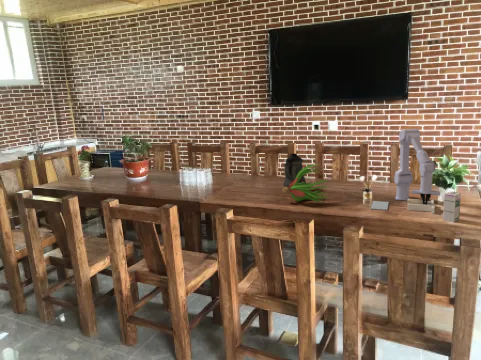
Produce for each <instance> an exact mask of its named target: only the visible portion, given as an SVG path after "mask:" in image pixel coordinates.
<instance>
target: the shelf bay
mask: <svg viewBox="0 0 481 360" xmlns="http://www.w3.org/2000/svg"><path fill="white" fill-rule="evenodd" d="M434 201H435V200H434V199H431V200H429V201H428V203H427V205H423V201H422V200H421V204H408V206H407V205H406V207H407V208H406V210H407V211H414V212H415V211H416V212H428V213H429V212H430V213H431V214H432V215H435V211H436V210H435V209H436V206H435V202H434Z"/></svg>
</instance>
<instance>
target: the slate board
mask: <svg viewBox="0 0 481 360" xmlns="http://www.w3.org/2000/svg"><path fill="white" fill-rule="evenodd" d="M389 203H390V202H389V201H380V200H373V201H372V202H371V206H370V210H374V211H375V210H377V211H388V208H389Z"/></svg>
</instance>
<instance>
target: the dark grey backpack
mask: <svg viewBox="0 0 481 360" xmlns="http://www.w3.org/2000/svg"><path fill="white" fill-rule="evenodd" d="M303 162H304V159H303V158H302V157H300V156H299V155H298V154H297V153H290V155H289V156H288V157H287V158H286V159H285V164H284V166H283V171H284V175H285V176H284V181H283V185H282V186H283V188H284V187H289V185H291V184H290V182H291V181H292V182H293V181H294V180H295V178H296V176H297V174H298V172H299V171H300V170H301V169H303V168H304V166H303ZM292 182H291V183H292ZM303 182H304V183H303ZM299 183H301V184H305V183H307V181H306V178H305V175H303V176H302V177H301V178H300V180H299V182H298V184H299ZM298 184H297V185H298Z"/></svg>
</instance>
